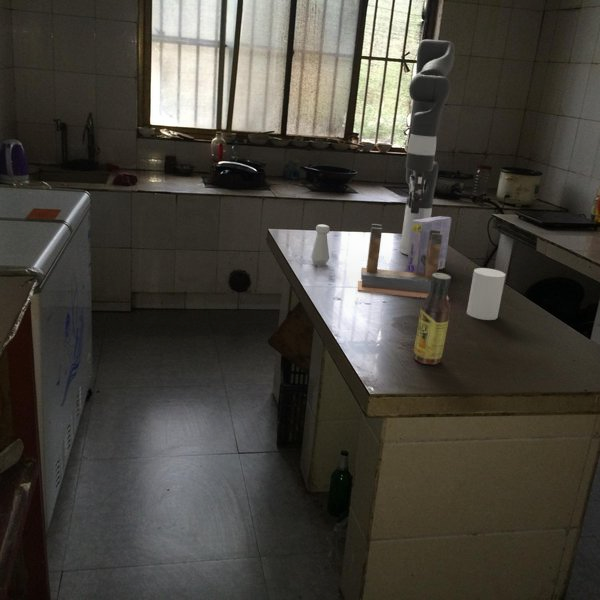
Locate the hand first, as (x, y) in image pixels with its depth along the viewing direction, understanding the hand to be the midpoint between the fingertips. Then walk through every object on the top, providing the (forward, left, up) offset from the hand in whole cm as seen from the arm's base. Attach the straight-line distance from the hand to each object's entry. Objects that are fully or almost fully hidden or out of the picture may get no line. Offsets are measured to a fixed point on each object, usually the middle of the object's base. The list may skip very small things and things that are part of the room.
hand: (413, 210), depth 183 cm
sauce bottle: (+23, +45, -24) cm, 56 cm away
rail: (0, 0, -24) cm, 24 cm away
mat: (0, 0, -24) cm, 24 cm away
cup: (-11, +23, -24) cm, 35 cm away
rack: (-6, -10, -24) cm, 27 cm away
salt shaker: (+12, -30, -24) cm, 41 cm away
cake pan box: (-21, -17, -24) cm, 36 cm away
